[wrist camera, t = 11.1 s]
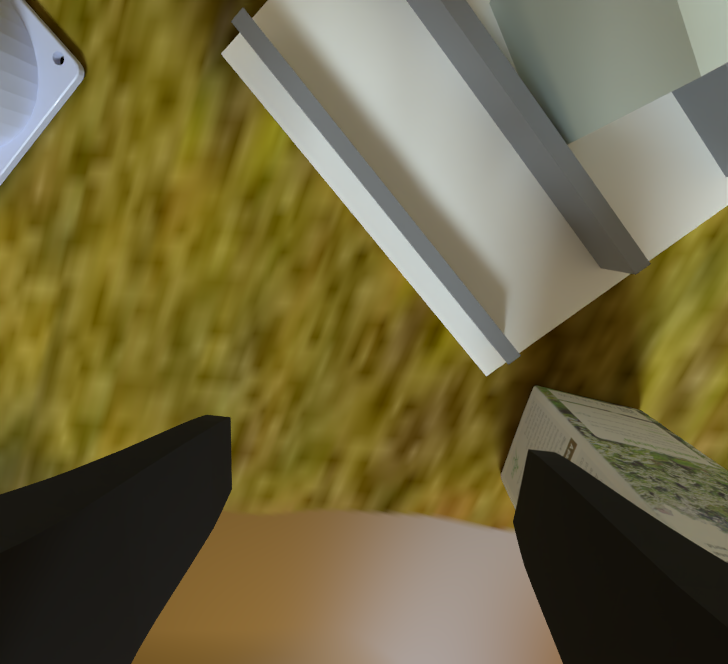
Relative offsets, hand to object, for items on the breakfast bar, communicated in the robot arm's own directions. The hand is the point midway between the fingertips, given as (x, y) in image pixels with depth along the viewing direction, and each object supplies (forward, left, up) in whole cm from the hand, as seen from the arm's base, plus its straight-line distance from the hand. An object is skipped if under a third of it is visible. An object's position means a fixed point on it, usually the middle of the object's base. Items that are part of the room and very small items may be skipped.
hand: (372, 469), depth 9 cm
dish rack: (-5, +10, -10) cm, 15 cm away
